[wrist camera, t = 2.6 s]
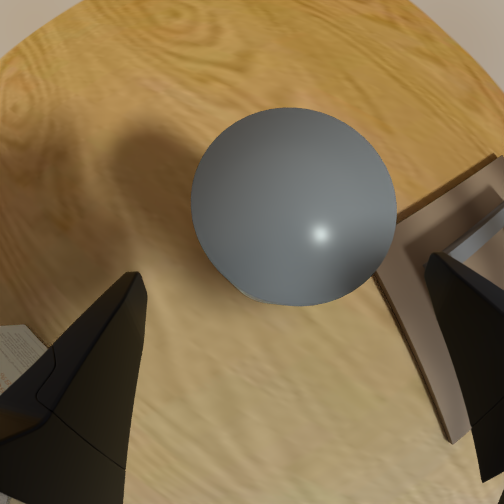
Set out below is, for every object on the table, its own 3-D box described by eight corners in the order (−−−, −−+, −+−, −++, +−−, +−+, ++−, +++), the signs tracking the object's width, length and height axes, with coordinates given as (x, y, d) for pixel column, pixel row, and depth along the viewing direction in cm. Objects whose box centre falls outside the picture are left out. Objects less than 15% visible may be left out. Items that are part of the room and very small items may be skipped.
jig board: (448, 441, 16) (467, 454, 14) (359, 246, 19) (375, 238, 16) (561, 318, 18) (580, 317, 15) (498, 157, 20) (516, 145, 17)
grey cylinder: (252, 319, 18) (255, 346, 7) (210, 240, 19) (158, 159, 8) (331, 275, 18) (429, 240, 8) (287, 199, 19) (327, 84, 8)
